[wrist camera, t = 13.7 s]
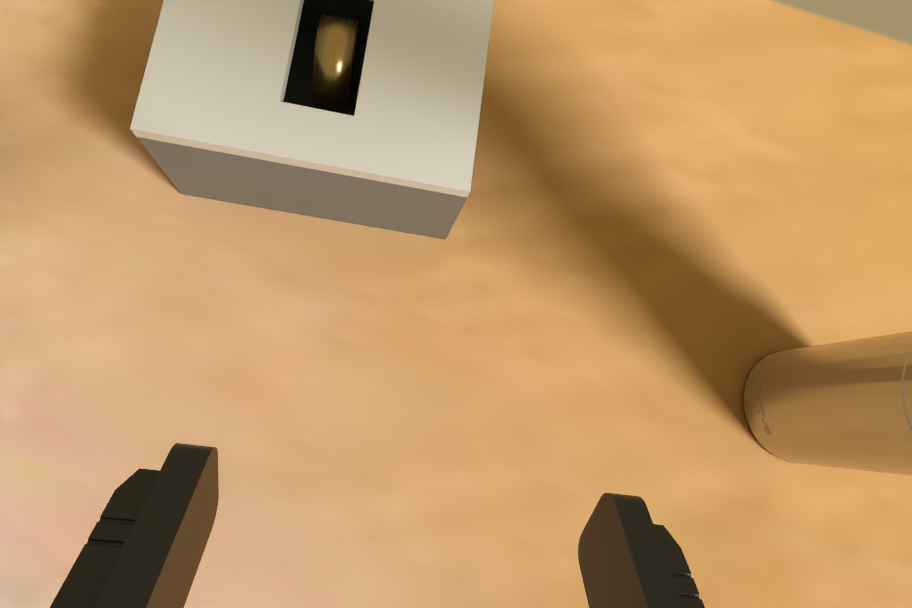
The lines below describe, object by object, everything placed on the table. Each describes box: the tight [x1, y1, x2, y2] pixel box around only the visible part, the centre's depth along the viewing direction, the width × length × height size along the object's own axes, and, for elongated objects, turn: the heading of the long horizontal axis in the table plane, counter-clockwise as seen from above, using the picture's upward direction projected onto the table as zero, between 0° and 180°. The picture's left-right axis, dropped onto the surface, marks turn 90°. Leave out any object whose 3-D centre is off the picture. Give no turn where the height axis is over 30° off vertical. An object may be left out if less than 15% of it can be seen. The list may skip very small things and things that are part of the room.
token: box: [313, 14, 360, 116], centre depth 41 cm, size 2×6×8 cm, turn 174°
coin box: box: [130, 0, 494, 239], centre depth 41 cm, size 20×16×10 cm
